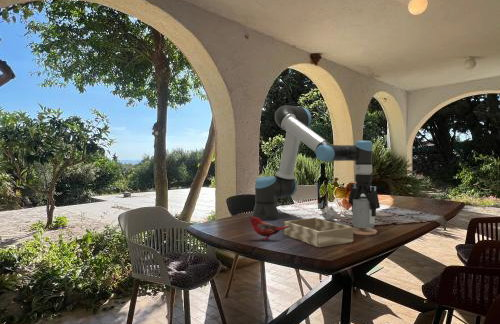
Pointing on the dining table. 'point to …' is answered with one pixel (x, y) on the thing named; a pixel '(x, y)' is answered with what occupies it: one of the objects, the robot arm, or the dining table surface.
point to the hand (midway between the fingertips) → (363, 221)
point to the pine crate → (318, 232)
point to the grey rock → (329, 213)
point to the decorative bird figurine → (265, 228)
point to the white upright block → (361, 213)
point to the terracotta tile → (364, 231)
